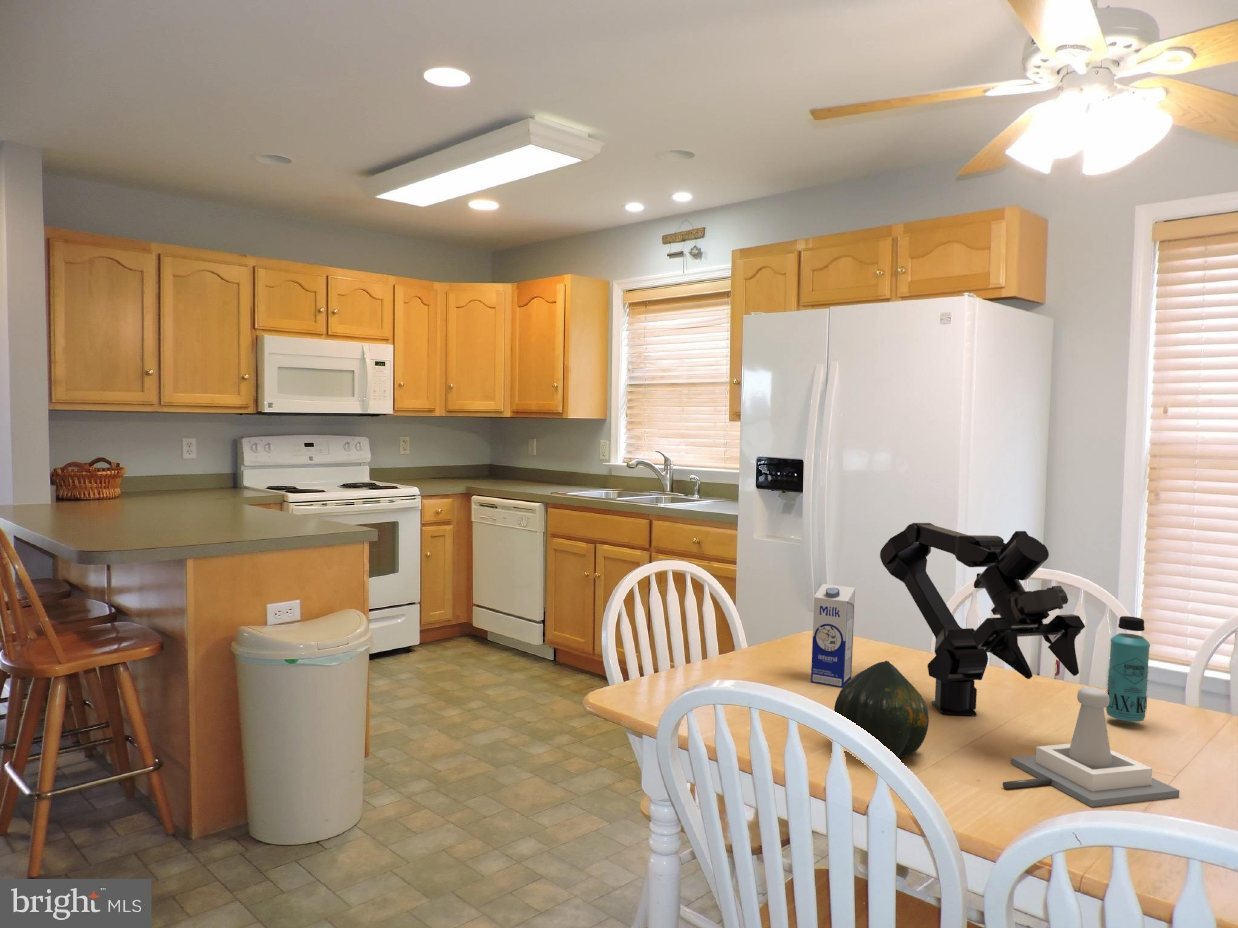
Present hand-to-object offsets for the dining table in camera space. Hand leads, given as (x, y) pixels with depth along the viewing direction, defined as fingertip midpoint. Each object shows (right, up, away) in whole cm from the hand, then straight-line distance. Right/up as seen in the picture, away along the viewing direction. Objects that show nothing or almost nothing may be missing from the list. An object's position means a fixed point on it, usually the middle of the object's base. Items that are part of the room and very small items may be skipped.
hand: (1053, 676), depth 138 cm
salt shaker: (+2, -13, -7) cm, 15 cm away
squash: (-28, -13, +2) cm, 31 cm away
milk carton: (-26, -11, +40) cm, 49 cm away
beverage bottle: (+23, -14, +19) cm, 32 cm away
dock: (-2, -14, -9) cm, 17 cm away
